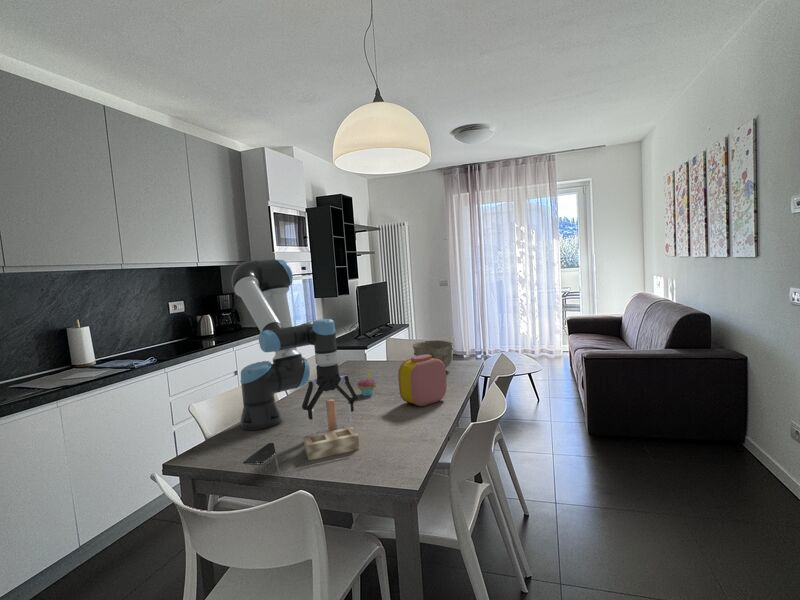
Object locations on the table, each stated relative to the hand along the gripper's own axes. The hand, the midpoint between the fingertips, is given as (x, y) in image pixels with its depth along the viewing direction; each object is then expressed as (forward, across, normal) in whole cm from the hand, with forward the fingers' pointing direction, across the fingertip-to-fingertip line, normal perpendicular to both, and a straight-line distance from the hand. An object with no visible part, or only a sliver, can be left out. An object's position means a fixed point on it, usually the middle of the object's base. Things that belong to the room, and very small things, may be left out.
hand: (332, 424), depth 152 cm
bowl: (+4, +67, +60) cm, 90 cm away
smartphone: (+4, -23, -4) cm, 24 cm away
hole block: (+4, -3, -13) cm, 14 cm away
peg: (+3, 0, 0) cm, 3 cm away
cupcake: (+4, +24, +40) cm, 47 cm away
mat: (+4, 0, 0) cm, 4 cm away
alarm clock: (+4, +42, +16) cm, 45 cm away
